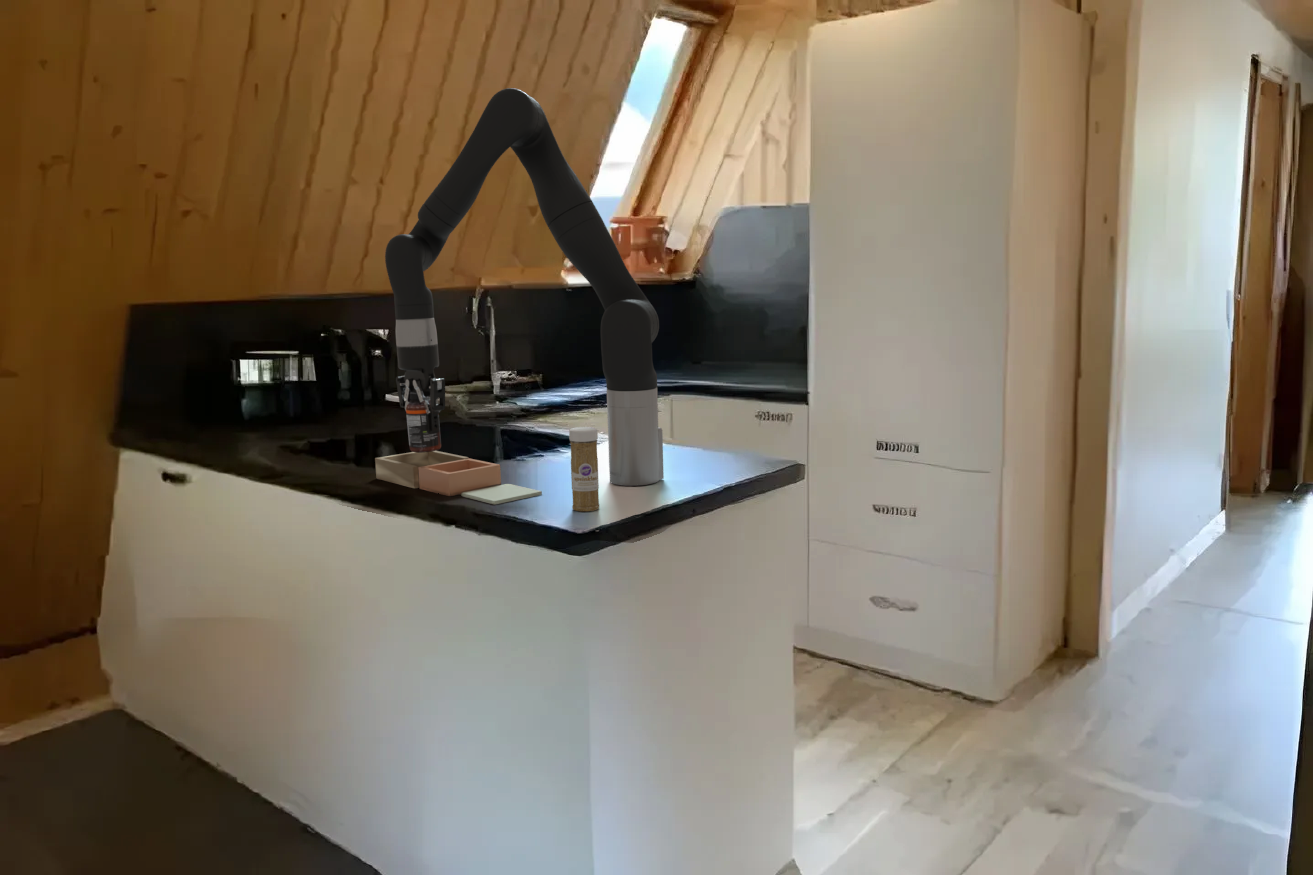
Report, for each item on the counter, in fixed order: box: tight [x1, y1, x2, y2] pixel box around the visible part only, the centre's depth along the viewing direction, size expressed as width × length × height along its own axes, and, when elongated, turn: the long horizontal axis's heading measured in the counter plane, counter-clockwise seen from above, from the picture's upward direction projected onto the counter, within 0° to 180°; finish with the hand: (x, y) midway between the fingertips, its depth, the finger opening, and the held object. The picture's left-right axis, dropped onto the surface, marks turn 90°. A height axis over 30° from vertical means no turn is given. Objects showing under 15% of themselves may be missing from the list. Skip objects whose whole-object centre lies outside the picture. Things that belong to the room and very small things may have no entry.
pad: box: [460, 483, 543, 505], centre depth 179 cm, size 10×10×1 cm
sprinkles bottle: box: [568, 426, 600, 513], centre depth 166 cm, size 5×5×14 cm
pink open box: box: [418, 458, 502, 497], centre depth 186 cm, size 11×10×4 cm
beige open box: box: [374, 450, 469, 489], centre depth 195 cm, size 12×14×4 cm
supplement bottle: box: [405, 392, 442, 453], centre depth 193 cm, size 6×6×11 cm
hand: (424, 431), depth 193 cm, fingers closed on supplement bottle, 6 cm apart
